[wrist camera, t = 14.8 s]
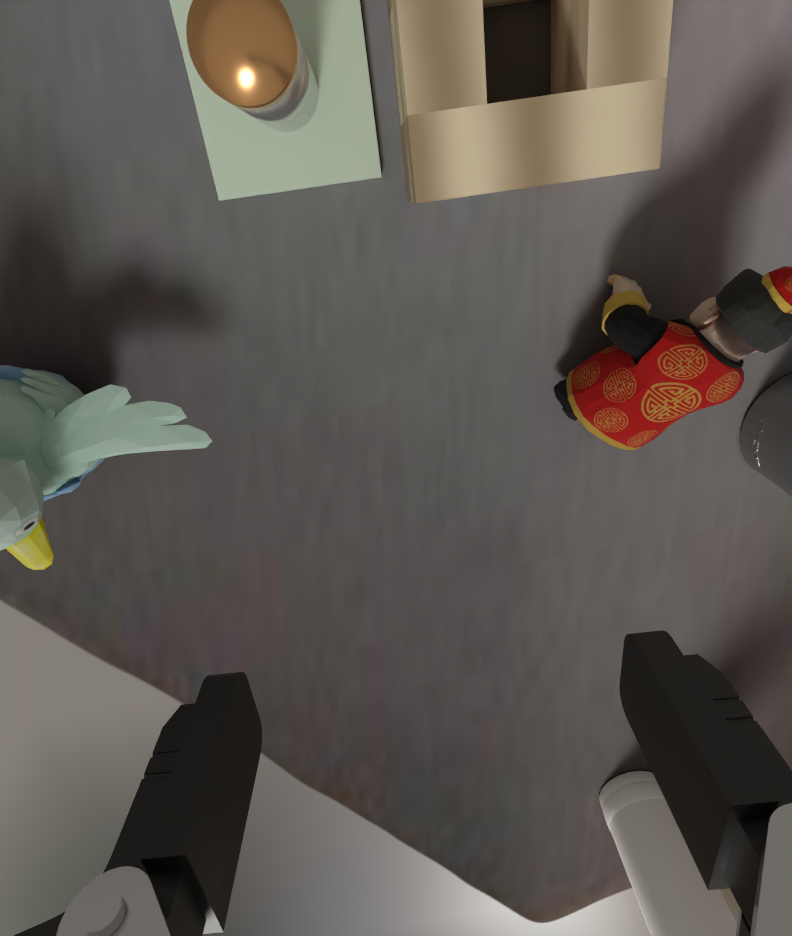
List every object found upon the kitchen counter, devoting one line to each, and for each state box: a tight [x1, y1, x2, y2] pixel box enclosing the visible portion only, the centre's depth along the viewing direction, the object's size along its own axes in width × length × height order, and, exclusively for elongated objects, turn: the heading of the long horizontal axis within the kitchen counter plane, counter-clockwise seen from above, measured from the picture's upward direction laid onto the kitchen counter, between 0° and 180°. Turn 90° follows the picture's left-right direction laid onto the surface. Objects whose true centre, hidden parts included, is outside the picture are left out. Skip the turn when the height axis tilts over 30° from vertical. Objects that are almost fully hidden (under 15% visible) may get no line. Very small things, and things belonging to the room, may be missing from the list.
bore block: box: [387, 0, 673, 203], centre depth 29 cm, size 13×13×6 cm
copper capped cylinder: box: [186, 0, 318, 132], centre depth 26 cm, size 4×4×12 cm
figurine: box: [554, 266, 792, 450], centre depth 36 cm, size 10×10×15 cm
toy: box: [0, 365, 212, 570], centre depth 34 cm, size 23×12×15 cm, turn 108°
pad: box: [169, 0, 382, 201], centre depth 32 cm, size 10×10×1 cm
